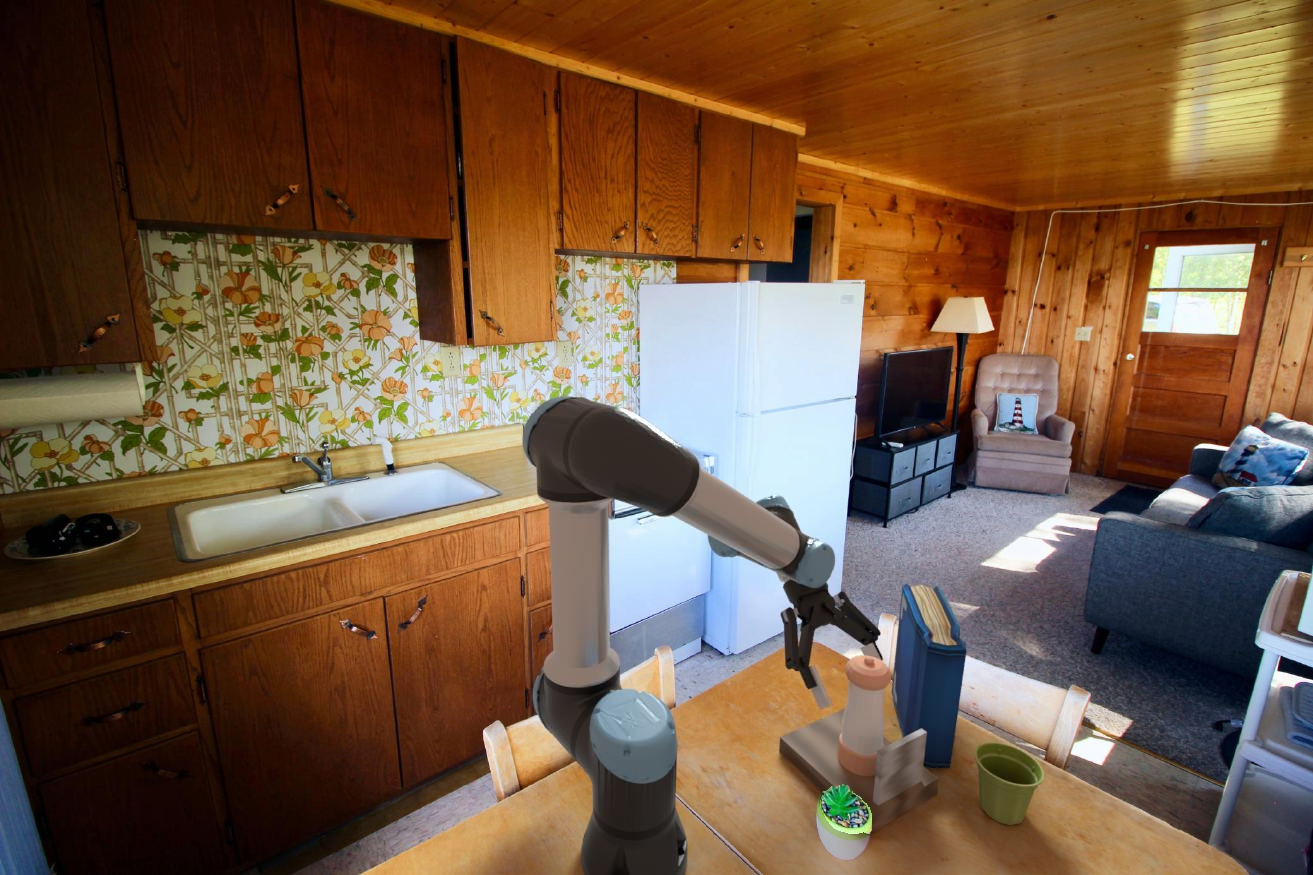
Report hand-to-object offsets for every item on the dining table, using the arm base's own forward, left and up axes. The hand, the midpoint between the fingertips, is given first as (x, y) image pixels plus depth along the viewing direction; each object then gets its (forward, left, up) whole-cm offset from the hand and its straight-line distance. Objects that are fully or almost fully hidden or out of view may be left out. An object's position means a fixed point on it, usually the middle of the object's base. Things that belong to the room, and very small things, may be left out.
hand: (856, 694), depth 102 cm
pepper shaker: (-1, -2, -11) cm, 11 cm away
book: (+18, 0, -14) cm, 22 cm away
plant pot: (+14, -18, -14) cm, 27 cm away
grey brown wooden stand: (0, -1, -14) cm, 14 cm away
